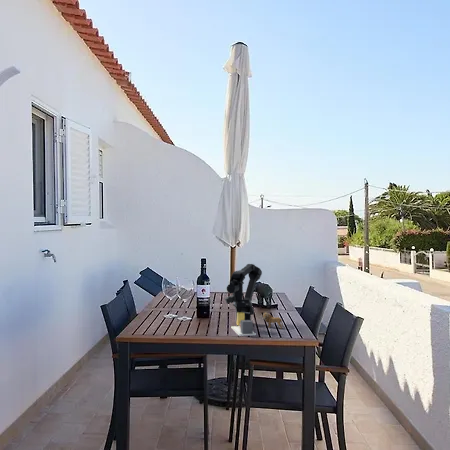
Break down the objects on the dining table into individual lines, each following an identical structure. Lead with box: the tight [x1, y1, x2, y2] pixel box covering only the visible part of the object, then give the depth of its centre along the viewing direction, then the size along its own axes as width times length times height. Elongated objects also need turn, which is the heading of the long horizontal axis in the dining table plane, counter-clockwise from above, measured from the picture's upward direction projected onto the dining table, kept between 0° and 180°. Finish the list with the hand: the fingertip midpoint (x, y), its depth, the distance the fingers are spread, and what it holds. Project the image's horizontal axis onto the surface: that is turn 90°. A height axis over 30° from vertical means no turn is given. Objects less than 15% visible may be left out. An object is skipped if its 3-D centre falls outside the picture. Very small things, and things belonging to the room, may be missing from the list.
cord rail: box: [230, 319, 257, 337], centre depth 286 cm, size 22×10×8 cm, turn 11°
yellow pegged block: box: [236, 312, 245, 326], centre depth 293 cm, size 4×4×8 cm
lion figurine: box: [262, 312, 286, 330], centre depth 299 cm, size 15×5×9 cm, turn 70°
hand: (238, 316), depth 300 cm, fingers closed
